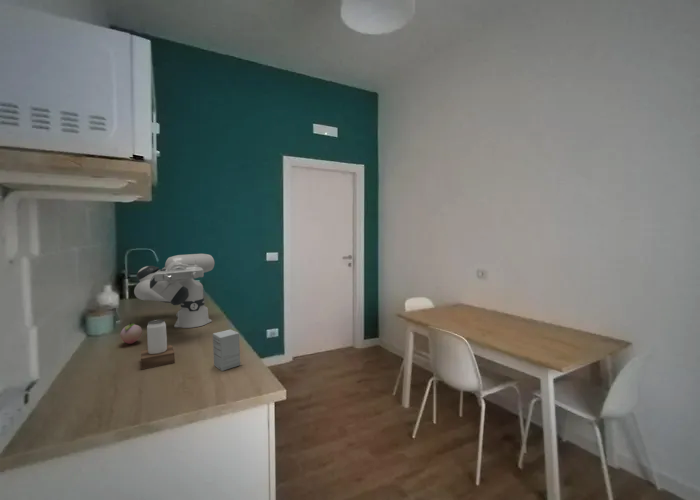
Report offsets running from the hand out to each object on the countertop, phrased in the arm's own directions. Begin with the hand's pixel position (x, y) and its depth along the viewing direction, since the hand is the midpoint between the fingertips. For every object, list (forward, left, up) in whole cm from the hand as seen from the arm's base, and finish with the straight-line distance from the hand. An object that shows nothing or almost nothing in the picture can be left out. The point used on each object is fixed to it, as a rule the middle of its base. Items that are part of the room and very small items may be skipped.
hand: (181, 276), depth 146 cm
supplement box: (+34, +11, -31) cm, 48 cm away
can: (+14, -11, -27) cm, 33 cm away
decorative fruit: (-17, -20, -31) cm, 41 cm away
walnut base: (+14, -11, -31) cm, 36 cm away
